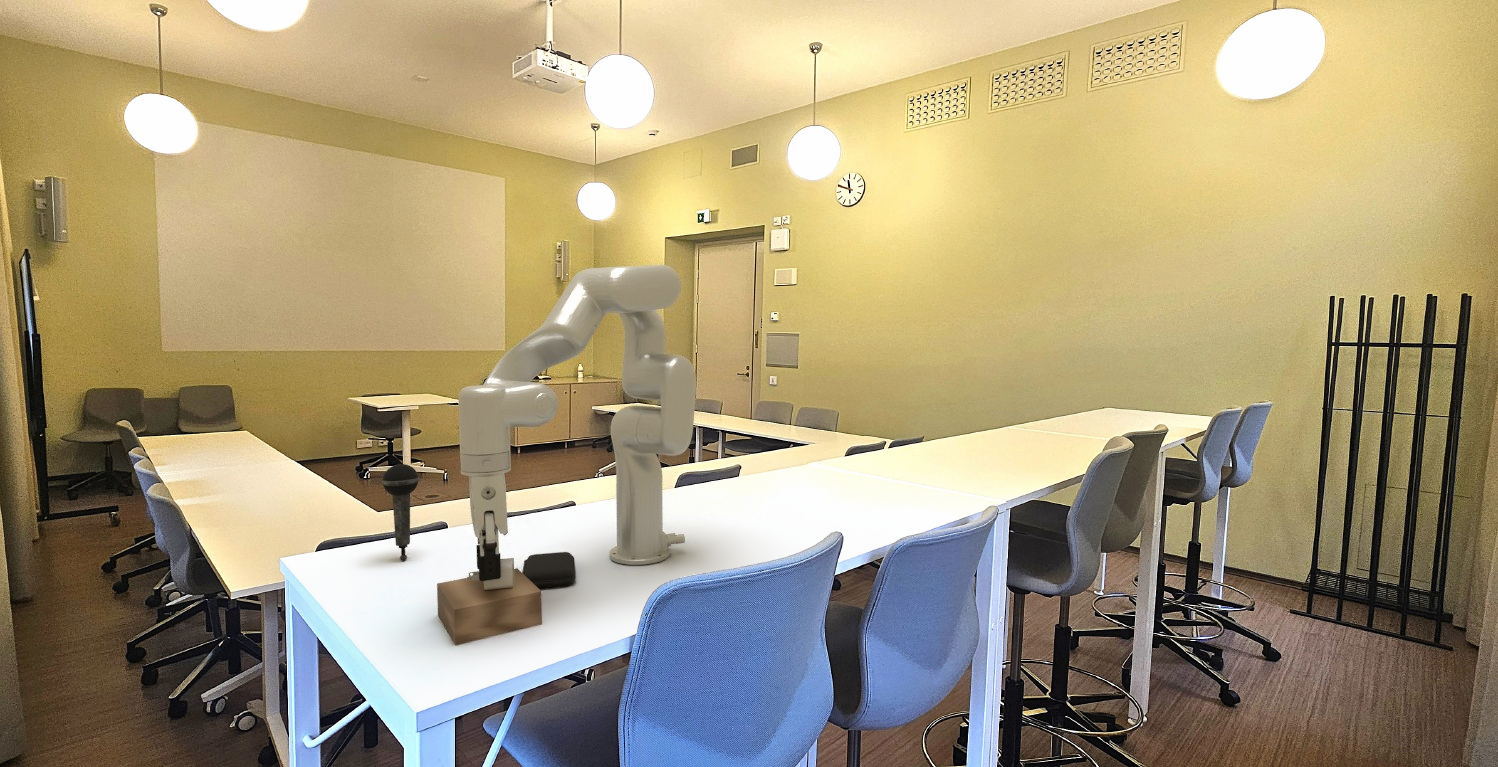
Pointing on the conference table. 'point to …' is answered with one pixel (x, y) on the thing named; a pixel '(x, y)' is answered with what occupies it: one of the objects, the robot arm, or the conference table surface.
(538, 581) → the carrying case or bag
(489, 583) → the usb wall charger
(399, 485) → the microphone
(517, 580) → the walnut block
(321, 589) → the conference table surface
